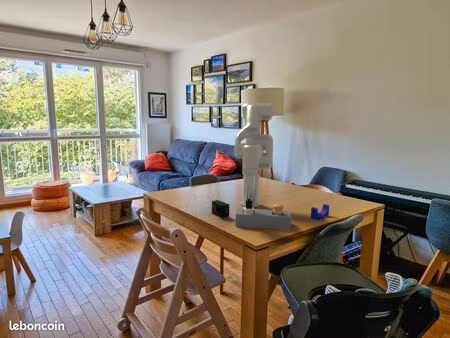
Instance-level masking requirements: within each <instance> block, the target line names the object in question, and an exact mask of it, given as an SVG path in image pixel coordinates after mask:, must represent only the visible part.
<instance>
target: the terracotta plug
mask: <svg viewBox="0 0 450 338" xmlns="http://www.w3.org/2000/svg"><path fill="white" fill-rule="evenodd" d="M283 208H284V204H281V203H274V204H273V205H272V210H273V215H282V211H284V210H283Z"/></svg>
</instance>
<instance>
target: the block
mask: <svg viewBox="0 0 450 338" xmlns="http://www.w3.org/2000/svg"><path fill="white" fill-rule="evenodd" d="M234 227H243V228H257V229H258V228H259V229H273V230H274V229H275V230H290V231H291V228H292V215H291V212H290V210H283V211H282V215H273V209H258V208H254V211H253V214H250V213H244V207H243V208H241V207H237V208H236V212H235V224H234Z"/></svg>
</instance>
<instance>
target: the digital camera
mask: <svg viewBox="0 0 450 338" xmlns="http://www.w3.org/2000/svg"><path fill="white" fill-rule="evenodd" d="M230 208H231V207H230V204H229V203H227V202H224V201H223V200H222V201H221V200H219V199H217V200H211V214H212V215H215V216H216V217H219V218H220V219H226V218H229V217H230Z"/></svg>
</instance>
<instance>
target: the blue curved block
mask: <svg viewBox="0 0 450 338" xmlns="http://www.w3.org/2000/svg"><path fill="white" fill-rule="evenodd" d="M329 214H330V205H329V204H326V203H324V204H322V208H321V210H320V212H319V208H318V207H314V206H312V207H311V209H310V219H311V218H312V220H314V219H315V220H314V221H317V220H318V221H321V220H324V218H326V217H328V216H327V215H329ZM325 216H326V217H325ZM320 219H321V220H320Z"/></svg>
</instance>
